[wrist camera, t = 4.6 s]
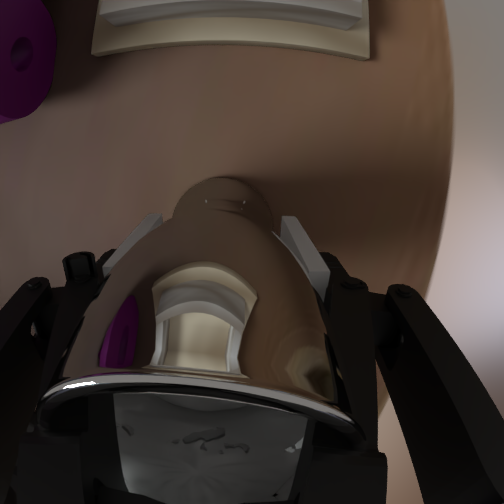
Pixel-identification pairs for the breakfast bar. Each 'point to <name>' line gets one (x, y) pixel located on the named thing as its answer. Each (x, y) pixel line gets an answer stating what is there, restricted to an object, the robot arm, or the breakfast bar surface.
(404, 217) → the breakfast bar surface
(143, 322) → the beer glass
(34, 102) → the mounting bracket
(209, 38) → the cup holder
